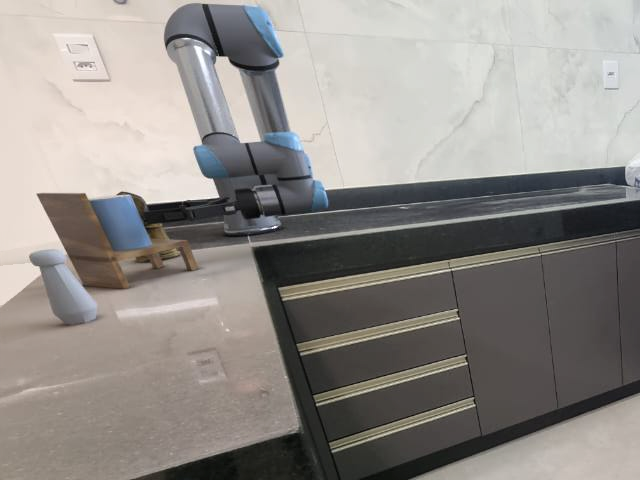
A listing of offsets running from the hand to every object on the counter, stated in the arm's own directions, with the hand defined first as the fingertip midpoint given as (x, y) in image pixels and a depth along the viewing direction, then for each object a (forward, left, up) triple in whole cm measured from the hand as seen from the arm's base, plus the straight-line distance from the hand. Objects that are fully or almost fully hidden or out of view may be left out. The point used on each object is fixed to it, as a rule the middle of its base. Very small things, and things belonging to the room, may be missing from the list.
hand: (147, 214), depth 121 cm
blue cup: (+5, -4, -7) cm, 9 cm away
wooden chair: (+4, -3, -14) cm, 15 cm away
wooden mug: (-9, -19, -14) cm, 25 cm away
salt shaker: (+28, +20, -14) cm, 37 cm away
